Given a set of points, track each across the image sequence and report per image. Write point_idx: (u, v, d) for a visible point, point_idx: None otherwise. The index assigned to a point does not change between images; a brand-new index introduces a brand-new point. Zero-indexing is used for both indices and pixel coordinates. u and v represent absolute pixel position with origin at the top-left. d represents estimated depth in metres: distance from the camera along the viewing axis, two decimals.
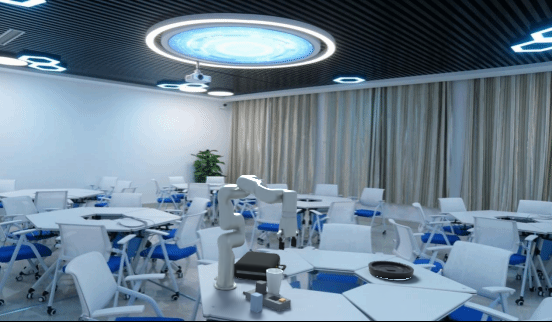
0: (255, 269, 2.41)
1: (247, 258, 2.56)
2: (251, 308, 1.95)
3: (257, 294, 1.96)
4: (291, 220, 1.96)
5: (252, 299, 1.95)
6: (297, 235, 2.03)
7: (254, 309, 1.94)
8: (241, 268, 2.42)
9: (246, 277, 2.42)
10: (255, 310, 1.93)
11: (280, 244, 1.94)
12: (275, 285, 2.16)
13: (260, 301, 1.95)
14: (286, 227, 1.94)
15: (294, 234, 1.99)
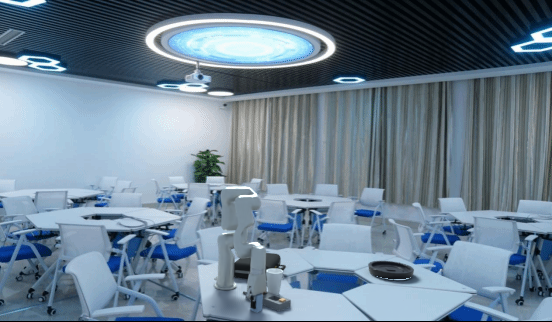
0: None
1: (246, 258, 2.56)
2: (251, 308, 1.95)
3: (257, 294, 1.96)
4: (260, 277, 1.93)
5: None
6: (263, 294, 1.98)
7: (254, 309, 1.94)
8: (239, 268, 2.43)
9: (244, 277, 2.42)
10: (255, 310, 1.93)
11: (251, 303, 1.93)
12: (275, 285, 2.16)
13: (260, 301, 1.95)
14: (254, 285, 1.91)
15: (263, 290, 1.96)
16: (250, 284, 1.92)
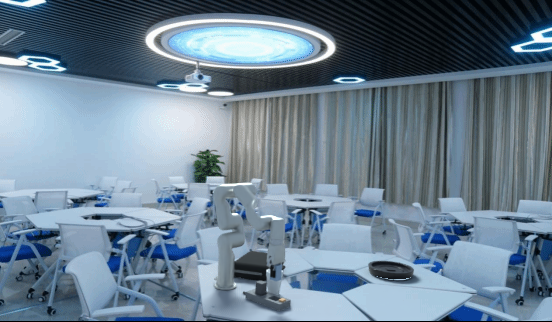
0: (251, 269, 2.41)
1: (246, 258, 2.56)
2: (271, 277, 2.03)
3: (277, 264, 2.03)
4: (279, 247, 2.01)
5: None
6: (282, 264, 2.06)
7: (274, 278, 2.01)
8: (238, 267, 2.43)
9: (243, 276, 2.43)
10: (275, 279, 2.01)
11: (271, 272, 2.01)
12: (275, 285, 2.16)
13: (279, 270, 2.02)
14: (274, 255, 1.98)
15: (282, 260, 2.04)
16: (270, 254, 1.99)
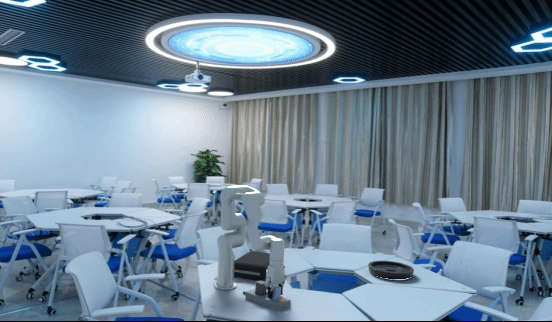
0: (249, 269, 2.41)
1: (245, 257, 2.57)
2: None
3: (276, 286, 2.03)
4: (279, 268, 2.01)
5: None
6: (283, 283, 2.07)
7: None
8: (237, 267, 2.44)
9: (241, 276, 2.43)
10: None
11: (268, 293, 2.00)
12: None
13: (279, 293, 2.02)
14: (273, 276, 1.99)
15: (281, 281, 2.04)
16: (269, 275, 1.99)
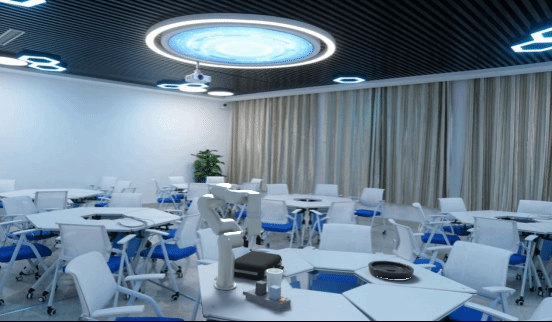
0: (247, 268, 2.42)
1: (245, 257, 2.58)
2: None
3: (276, 286, 2.03)
4: (255, 220, 2.09)
5: (271, 291, 2.02)
6: (262, 234, 2.16)
7: None
8: (235, 266, 2.45)
9: (239, 276, 2.44)
10: None
11: (244, 242, 2.07)
12: None
13: (279, 293, 2.02)
14: (250, 227, 2.07)
15: (258, 233, 2.12)
16: (246, 226, 2.08)
